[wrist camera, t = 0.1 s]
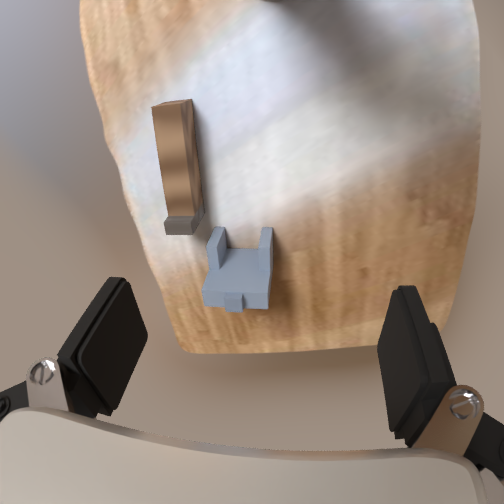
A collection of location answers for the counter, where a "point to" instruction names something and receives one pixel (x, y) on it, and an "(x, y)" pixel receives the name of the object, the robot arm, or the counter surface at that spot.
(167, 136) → the brown wooden bar
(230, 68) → the counter surface
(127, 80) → the counter surface
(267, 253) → the grey slotted holder
